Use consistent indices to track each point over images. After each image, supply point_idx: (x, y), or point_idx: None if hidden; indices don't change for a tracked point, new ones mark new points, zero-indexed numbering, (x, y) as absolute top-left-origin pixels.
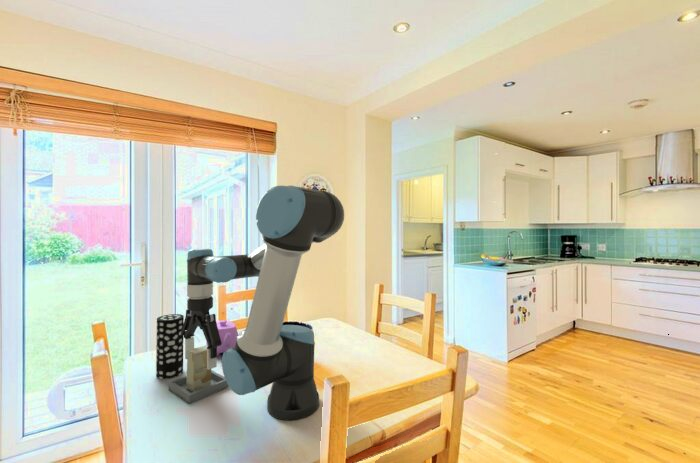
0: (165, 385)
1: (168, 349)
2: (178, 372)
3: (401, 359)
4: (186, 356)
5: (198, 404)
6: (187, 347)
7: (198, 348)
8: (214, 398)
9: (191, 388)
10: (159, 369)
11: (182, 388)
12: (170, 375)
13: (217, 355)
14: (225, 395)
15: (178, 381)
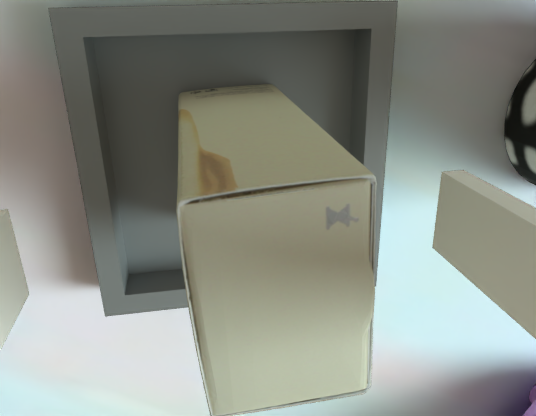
0: (453, 17)
1: None
2: (518, 143)
3: None
4: (457, 184)
5: (13, 52)
6: (520, 234)
7: (321, 304)
8: (23, 163)
9: (203, 92)
10: None
11: (211, 26)
12: (529, 89)
13: (533, 394)
14: (14, 228)
15: (365, 67)
